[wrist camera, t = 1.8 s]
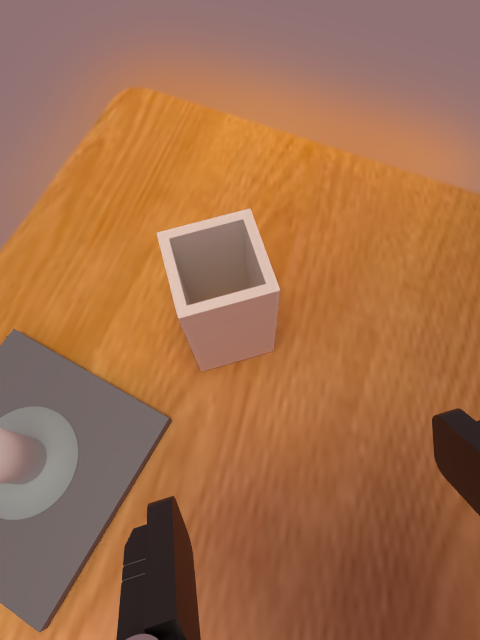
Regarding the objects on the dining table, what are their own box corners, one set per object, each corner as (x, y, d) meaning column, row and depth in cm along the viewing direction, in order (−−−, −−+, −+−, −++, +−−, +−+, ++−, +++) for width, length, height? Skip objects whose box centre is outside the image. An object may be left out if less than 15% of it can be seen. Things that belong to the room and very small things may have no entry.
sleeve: (184, 305, 34) (156, 232, 25) (252, 287, 34) (250, 208, 25) (201, 371, 32) (178, 318, 22) (273, 351, 32) (280, 290, 23)
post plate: (20, 333, 33) (-36, 293, 27) (171, 420, 30) (148, 398, 24) (-115, 505, 29) (-222, 505, 22) (47, 627, 26) (-23, 670, 19)
